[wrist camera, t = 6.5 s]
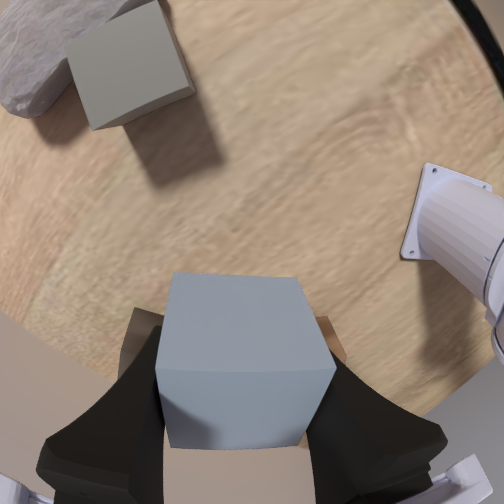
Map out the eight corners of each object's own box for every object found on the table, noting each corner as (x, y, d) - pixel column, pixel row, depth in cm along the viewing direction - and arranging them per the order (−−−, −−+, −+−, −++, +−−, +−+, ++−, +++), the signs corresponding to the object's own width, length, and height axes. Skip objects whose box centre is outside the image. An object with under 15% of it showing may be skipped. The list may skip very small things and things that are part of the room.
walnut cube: (326, 315, 25) (346, 355, 20) (321, 355, 27) (336, 395, 22) (269, 322, 24) (279, 367, 20) (269, 362, 26) (278, 405, 22)
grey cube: (171, 26, 14) (156, -1, 9) (196, 93, 16) (188, 85, 11) (99, 59, 14) (64, 47, 9) (122, 125, 16) (92, 130, 12)
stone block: (2, 59, 13) (46, 130, 15) (-35, 49, 8) (0, 127, 10) (108, -46, 11) (177, 4, 13) (85, -76, 6) (158, -35, 8)
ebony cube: (194, 323, 23) (192, 368, 19) (180, 362, 25) (177, 406, 21) (134, 306, 22) (120, 350, 18) (127, 348, 24) (116, 391, 19)
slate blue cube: (297, 278, 12) (336, 367, 8) (277, 361, 14) (297, 445, 10) (173, 272, 12) (155, 367, 7) (177, 359, 14) (170, 447, 9)
